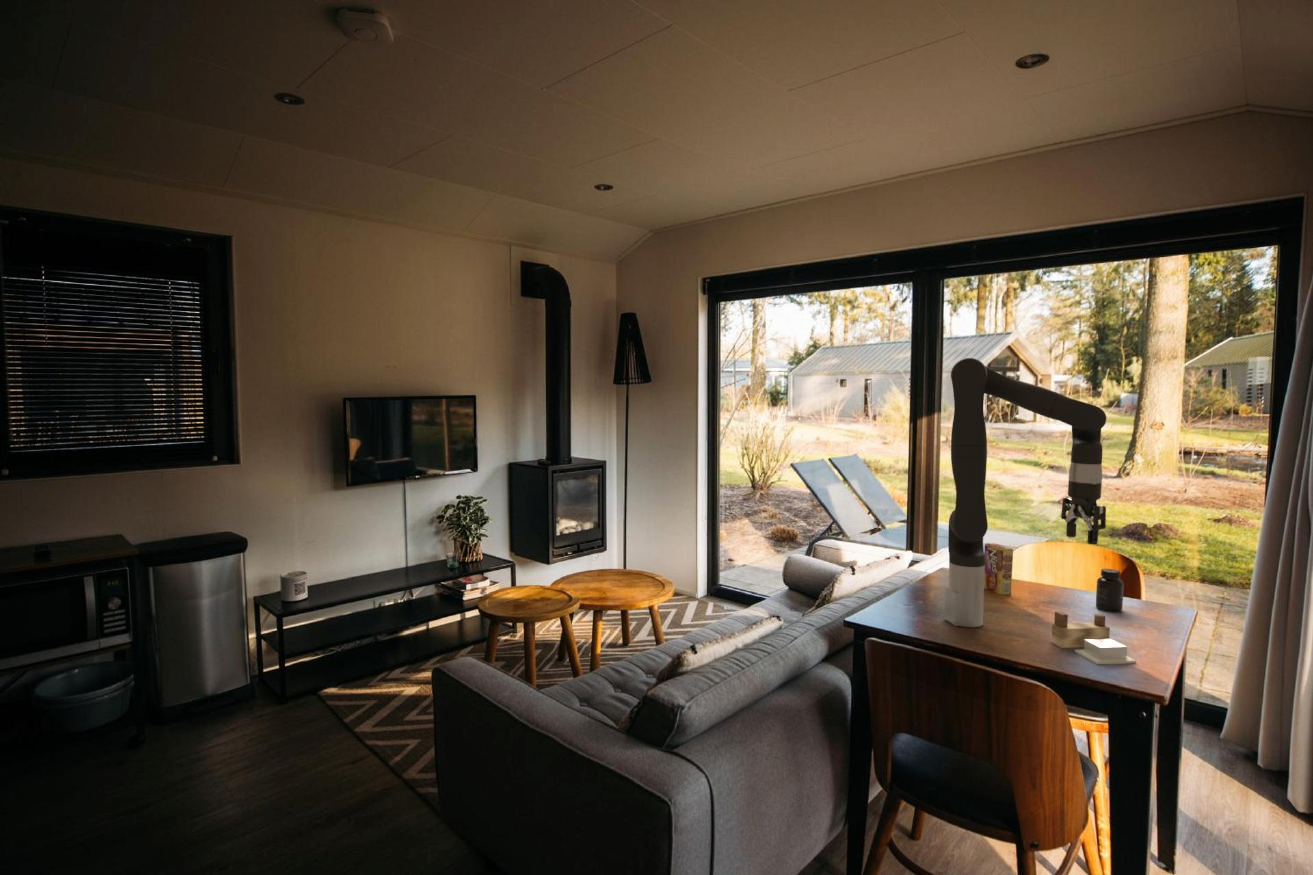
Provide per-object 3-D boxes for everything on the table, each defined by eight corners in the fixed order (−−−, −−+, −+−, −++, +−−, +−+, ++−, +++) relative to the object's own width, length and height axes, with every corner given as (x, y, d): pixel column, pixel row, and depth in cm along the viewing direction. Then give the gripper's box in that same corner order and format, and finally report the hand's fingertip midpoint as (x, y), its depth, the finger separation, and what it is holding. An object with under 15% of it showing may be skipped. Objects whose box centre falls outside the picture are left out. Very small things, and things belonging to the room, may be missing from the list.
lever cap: (1099, 659, 170) (1100, 647, 169) (1084, 651, 175) (1084, 639, 175) (1126, 658, 170) (1127, 646, 170) (1110, 650, 176) (1110, 638, 175)
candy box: (1012, 594, 226) (1014, 548, 225) (1001, 595, 225) (1002, 549, 224) (993, 587, 234) (994, 542, 233) (982, 587, 234) (983, 543, 233)
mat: (1097, 664, 168) (1097, 661, 168) (1075, 651, 176) (1075, 649, 176) (1136, 662, 169) (1136, 660, 169) (1112, 650, 177) (1112, 648, 177)
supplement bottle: (1126, 613, 207) (1128, 573, 206) (1101, 611, 208) (1102, 572, 207) (1116, 606, 213) (1118, 568, 213) (1091, 604, 215) (1093, 566, 214)
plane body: (1061, 647, 179) (1062, 615, 178) (1051, 642, 183) (1052, 610, 182) (1108, 646, 180) (1110, 614, 179) (1097, 640, 184) (1099, 609, 183)
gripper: (1054, 476, 191) (1051, 534, 192) (1089, 483, 177) (1085, 546, 178) (1080, 476, 191) (1077, 534, 193) (1117, 484, 177) (1113, 546, 178)
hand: (1081, 540), depth 185 cm, fingers open, 8 cm apart
